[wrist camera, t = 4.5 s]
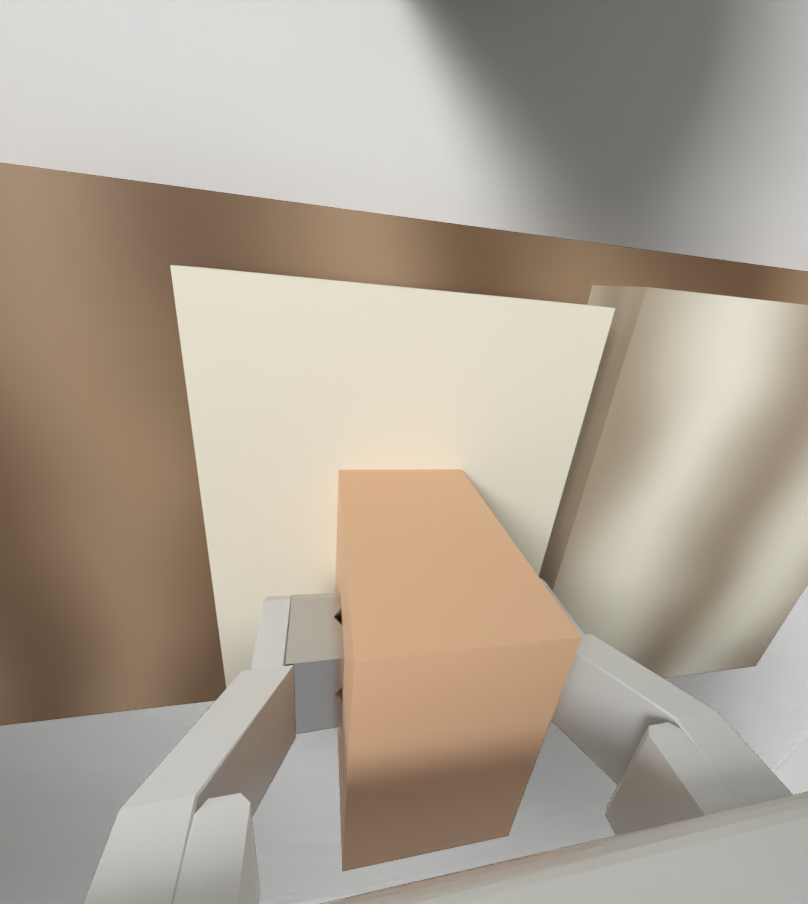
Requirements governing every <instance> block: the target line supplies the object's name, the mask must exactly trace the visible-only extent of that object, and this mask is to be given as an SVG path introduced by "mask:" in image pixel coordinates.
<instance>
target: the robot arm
mask: <svg viewBox="0 0 808 904" xmlns="http://www.w3.org/2000/svg"><path fill="white" fill-rule="evenodd" d="M540 579H541V578H540ZM541 581H542V582H543V584H544V585H545V586H546V588H547V589H548V591H549V592H550V593H551V595H552V596H553V598H554V599H555V600H556V602H557V603H558V604H559V606H560V607H561V609H562V610H563V611H564V613H565V614H566V616H567V617H568V618H569V620H570V621H571V623H572V624H573V625H574V627H575V628H576V630H577V631H578V632H579V634H580V635H581V636H582V638H581V641H580V644H579V646H578V649H577V652H576V654H575V657H574V660H573V662H572V665H571V668H570V670H569V673H568V676H567V679H566V681H565V684H564V687H563V689H562V692H561V695H560V697H559V700H558V703H557V705H556V708H555V711H554V714H553V716H552V719H551V721H552V722H553V723H554V724H555V725H556V726H557V727H558V728H559V729H560V730H561V731H563V732H564V733H565V734H566V735H567V736H568V737H569V738H570V739H571V740H572V741H573V742H574V743H575V744H576V745H577V746H578V747H579V748H580V749H581V750H582V751H583V752H584V753H585V754H586V755H587V756H588V757H589V758H590V759H591V760H592V761H593V762H594V763H596V764H597V765H598V766H599V767H600V768H601V769H602V770H603V771H604V772H605V773H606V774H607V775H608V776H609V777H610V778H611V779H612V780H613V781H614V782H615V783H616V784H617V785H618V786H617V788H616V789H615V791H614V793H613V795H612V797H611V799H610V801H609V803H608V805H607V808H606V813H605V815H606V817H607V819H608V821H609V823H610V825H611V827H612V829H613V831H614V833H615V835H616V836H612V837H608V838H603V839H599V840H595V841H590V842H586V843H582V844H577V845H573V846H569V847H564V848H560V849H556V850H551V851H547V852H543V853H538V854H534V855H529V856H525V857H521V858H516V859H512V860H508V861H503V862H499V863H495V864H490V865H486V866H482V867H477V868H473V869H469V870H464V871H460V872H456V873H451V874H447V875H443V876H438V877H434V878H429V879H425V880H421V881H416V882H412V883H408V884H403V885H399V886H395V887H390V888H386V889H382V890H377V891H373V892H369V893H364V894H360V895H356V896H351V897H347V898H343V899H338V900H334V901H330V902H325V903H321V904H808V792H803V793H799V794H795V795H793V794H792V793H791V792H790V791H789V790H788V788H787V787H786V786H785V785H784V784H783V783H782V782H781V781H780V780H779V779H778V778H777V776H776V775H775V774H774V773H773V772H772V771H771V770H770V769H769V768H768V766H767V765H766V764H765V763H764V762H763V761H762V760H761V759H760V758H759V757H758V755H757V754H756V753H755V752H754V751H753V750H752V749H751V748H750V747H749V746H748V744H747V743H746V742H745V741H744V740H743V739H742V738H741V737H740V736H739V735H738V733H737V732H736V731H735V730H734V729H733V728H732V727H731V726H730V725H729V724H728V722H727V721H726V720H725V719H724V718H723V717H722V716H721V715H720V714H719V712H717V711H715V710H714V709H712V708H711V707H709V706H707V705H706V704H704V703H702V702H701V701H699V700H697V699H696V698H694V697H693V696H691V695H689V694H688V693H686V692H684V691H683V690H681V689H680V688H678V687H676V686H675V685H673V684H671V683H670V682H668V681H667V680H665V679H663V678H662V677H660V676H658V675H657V674H655V673H654V672H652V671H650V670H649V669H647V668H645V667H644V666H642V665H641V664H639V663H637V662H636V661H634V660H632V659H631V658H629V657H627V656H626V655H624V654H623V653H621V652H619V651H618V650H616V649H614V648H613V647H611V646H610V645H608V644H606V643H605V642H603V641H601V640H600V639H598V638H597V637H595V636H593V635H592V634H587V635H585V634H584V633H583V632H582V630H581V629H580V627H579V626H578V625H577V623H576V622H575V621H574V619H573V618H572V617H571V615H570V614H569V613H568V611H567V610H566V609H565V607H564V606H563V605H562V603H561V602H560V601H559V599H558V598H557V596H556V595H555V594H554V592H553V591H552V590H551V588H550V587H549V586H548V584H547V583H546V582H545V581H544V580H542V579H541ZM343 680H344V642H343V626H342V625H341V594H340V593H325V594H303V595H292V596H269V597H266V598H265V600H264V602H263V606H262V611H261V617H260V622H259V628H258V633H257V639H256V644H255V650H254V655H253V661H252V666H251V669H250V670H242V671H241V673H240V674H239V675H238V676H237V677H236V678H235V679H234V680H233V682H232V683H231V684H230V685H229V686H228V687H227V688H226V689H225V691H224V692H223V693H222V694H221V695H220V696H219V697H218V699H217V700H216V701H215V702H214V703H213V704H212V705H211V706H210V708H209V709H208V710H207V711H206V712H205V713H204V714H203V716H202V717H201V718H200V719H199V720H198V721H197V722H196V723H195V725H194V726H193V727H192V728H191V729H190V730H189V731H188V732H187V734H186V735H185V736H184V737H183V738H182V739H181V740H180V742H179V743H178V744H177V745H176V746H175V747H174V748H173V749H172V751H171V752H170V753H169V754H168V755H167V756H166V757H165V758H164V760H163V761H162V762H161V763H160V764H159V765H158V766H157V768H156V769H155V770H154V771H153V772H152V773H151V774H150V775H149V777H148V778H147V779H146V780H145V781H144V782H143V783H142V785H141V786H140V787H139V788H138V789H137V790H136V791H135V792H134V794H133V795H132V796H131V797H130V798H129V799H128V800H127V801H126V803H125V804H124V805H123V806H122V807H121V808H120V810H119V812H118V815H117V817H116V820H115V823H114V825H113V828H112V830H111V833H110V836H109V838H108V841H107V843H106V846H105V849H104V851H103V854H102V856H101V859H100V862H99V864H98V867H97V869H96V872H95V875H94V877H93V880H92V882H91V885H90V888H89V890H88V893H87V895H86V898H85V901H84V903H83V904H259V896H260V885H259V876H258V867H257V858H256V849H255V840H254V831H253V822H252V816H253V815H254V813H255V811H256V809H257V807H258V806H259V804H260V802H261V800H262V798H263V796H264V795H265V793H266V791H267V789H268V787H269V785H270V784H271V782H272V780H273V778H274V776H275V775H276V773H277V771H278V769H279V767H280V765H281V764H282V762H283V760H284V758H285V756H286V754H287V753H288V751H289V749H290V747H291V745H292V744H293V742H294V740H295V738H296V734H300V733H306V732H312V731H318V730H324V729H330V728H336V727H342V704H343V701H342V687H343Z"/></svg>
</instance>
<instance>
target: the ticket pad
mask: <svg viewBox="0 0 808 904" xmlns="http://www.w3.org/2000/svg"><path fill="white" fill-rule="evenodd" d="M170 265H176V266H190V267H203V268H213V269H224V270H234V271H244V272H255V273H265V274H275V275H286V276H296V277H306V278H317V279H327V280H337V281H348V282H358V283H368V284H379V285H389V286H399V287H409V288H420V289H430V290H440V291H451V292H461V293H471V294H482V295H492V296H502V297H513V298H523V299H533V300H544V301H554V302H564V303H574V304H583V305H592V306H601V307H610V308H615V311H614V315H613V318H612V322H611V325H610V329H609V332H608V336H607V339H606V343H605V346H604V350H603V353H602V357H601V360H600V364H599V367H598V371H597V374H596V378H595V381H594V385H593V388H592V392H591V395H590V399H589V402H588V406H587V409H586V412H585V416H584V419H583V423H582V426H581V430H580V433H579V437H578V440H577V444H576V447H575V451H574V454H573V458H572V461H571V465H570V468H569V472H568V475H567V479H566V482H565V486H564V489H563V493H562V496H561V500H560V503H559V507H558V510H557V514H556V517H555V521H554V524H553V528H552V531H551V535H550V538H549V542H548V545H547V549H546V552H545V556H544V559H543V563H542V566H541V569H540V573H539V576H538V577H539V578H541V579H542V580H544V581H545V582H546V583H547V584H548V586H549V587H550V588H551V590H552V591H553V592H554V594H555V595H556V596H557V598H558V599H559V601H560V602H561V603H562V605H563V606H564V607H565V609H566V610H567V611H568V613H569V614H570V615H571V617H572V618H573V619H574V621H575V622H576V623H577V625H578V626H579V627H580V629H581V630H582V632H583V633H584V634H585V635H587V634H592V635H593V636H595V637H597V638H598V639H600V640H601V641H603V642H605V643H606V644H608V645H610V646H611V647H613V648H614V649H616V650H618V651H619V652H621V653H623V654H624V655H626V656H627V657H629V658H631V659H632V660H634V661H636V662H637V663H639V664H641V665H642V666H644V667H645V668H647V669H649V670H650V671H652V672H654V673H655V674H657V675H658V676H660V677H662V678H670V677H678V676H685V675H693V674H700V673H707V672H715V671H722V670H729V669H737V668H744V667H751V666H756V664H757V663H758V661H759V660H760V658H761V657H762V655H763V653H764V652H765V650H766V649H767V647H768V646H769V644H770V642H771V641H772V639H773V638H774V636H775V635H776V633H777V631H778V630H779V628H780V627H781V625H782V624H783V622H784V621H785V619H786V617H787V616H788V614H789V613H790V611H791V610H792V608H793V606H794V605H795V603H796V602H797V600H798V599H799V597H800V595H801V594H802V592H803V591H804V589H805V588H806V586H807V584H808V272H807V271H800V270H792V269H785V268H778V267H770V266H763V265H755V264H748V263H741V262H733V261H726V260H718V259H711V258H704V257H696V256H689V255H681V254H674V253H667V252H659V251H652V250H644V249H637V248H630V247H622V246H615V245H607V244H600V243H592V242H585V241H578V240H570V239H563V238H555V237H548V236H541V235H533V234H526V233H518V232H511V231H504V230H496V229H489V228H481V227H474V226H467V225H459V224H452V223H444V222H437V221H430V220H422V219H415V218H407V217H400V216H393V215H385V214H378V213H370V212H363V211H356V210H348V209H341V208H333V207H326V206H318V205H311V204H304V203H296V202H289V201H281V200H274V199H267V198H259V197H252V196H244V195H237V194H230V193H222V192H215V191H207V190H200V189H193V188H185V187H178V186H170V185H163V184H156V183H148V182H141V181H133V180H126V179H119V178H111V177H104V176H96V175H89V174H82V173H74V172H67V171H59V170H52V169H44V168H37V167H30V166H22V165H15V164H7V163H0V726H1V725H9V724H18V723H26V722H35V721H44V720H52V719H61V718H69V717H78V716H86V715H95V714H104V713H112V712H121V711H129V710H138V709H146V708H155V707H164V706H172V705H181V704H189V703H198V702H206V701H215V700H217V699H218V697H219V696H220V695H221V694H222V693H223V692H224V691H225V689H226V682H225V674H224V667H223V659H222V652H221V644H220V637H219V629H218V622H217V614H216V607H215V599H214V592H213V584H212V577H211V569H210V562H209V554H208V547H207V539H206V531H205V524H204V516H203V509H202V501H201V494H200V486H199V479H198V471H197V464H196V456H195V449H194V441H193V434H192V426H191V419H190V411H189V403H188V396H187V388H186V381H185V373H184V366H183V358H182V351H181V343H180V336H179V328H178V321H177V313H176V306H175V298H174V291H173V283H172V276H171V268H170Z"/></svg>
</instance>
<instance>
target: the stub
mask: <svg viewBox="0 0 808 904" xmlns="http://www.w3.org/2000/svg"><path fill="white" fill-rule="evenodd" d="M170 268H171V276H172V283H173V291H174V298H175V306H176V313H177V321H178V328H179V336H180V343H181V351H182V358H183V366H184V373H185V381H186V388H187V396H188V403H189V411H190V419H191V426H192V434H193V441H194V449H195V456H196V464H197V471H198V479H199V486H200V494H201V501H202V509H203V516H204V524H205V531H206V539H207V547H208V554H209V562H210V569H211V577H212V584H213V592H214V599H215V607H216V614H217V622H218V629H219V637H220V644H221V652H222V659H223V667H224V674H225V682H226V688H227V687H228V686H229V685H230V684H231V683H232V682H233V680H234V679H235V678H236V677H237V676H238V675H239V674H240V673H241V671H242V670H250V669H251V666H252V661H253V655H254V650H255V644H256V639H257V633H258V628H259V622H260V617H261V611H262V606H263V602H264V600H265V598H266V597H269V596H292V595H303V594H325V593H340V594H341V625H342V626H343V642H344V680H343V687H342V701H343V704H342V727H338V755H339V784H340V814H341V844H342V871H346V870H351V869H356V868H360V867H365V866H370V865H374V864H379V863H384V862H388V861H393V860H398V859H402V858H407V857H412V856H416V855H421V854H426V853H430V852H435V851H440V850H444V849H449V848H454V847H458V846H463V845H468V844H472V843H477V842H482V841H486V840H491V839H495V838H500V837H505V836H508V835H509V832H510V829H511V827H512V824H513V821H514V819H515V816H516V813H517V811H518V808H519V805H520V802H521V800H522V797H523V794H524V792H525V789H526V786H527V784H528V781H529V778H530V776H531V773H532V770H533V767H534V765H535V762H536V759H537V757H538V754H539V751H540V749H541V746H542V743H543V741H544V738H545V735H546V732H547V730H548V727H549V724H550V722H551V719H552V716H553V714H554V711H555V708H556V705H557V703H558V700H559V697H560V695H561V692H562V689H563V687H564V684H565V681H566V679H567V676H568V673H569V670H570V668H571V665H572V662H573V660H574V657H575V654H576V652H577V649H578V646H579V644H580V641H581V638H582V636H581V635H580V634H579V632H578V631H577V630H576V628H575V627H574V625H573V624H572V623H571V621H570V620H569V618H568V617H567V616H566V614H565V613H564V611H563V610H562V609H561V607H560V606H559V604H558V603H557V602H556V600H555V599H554V598H553V596H552V595H551V593H550V592H549V591H548V589H547V588H546V586H545V585H544V584H543V582H542V581H541V579H540V578H539V577H538V576H539V573H540V569H541V566H542V563H543V559H544V556H545V552H546V549H547V545H548V542H549V538H550V535H551V531H552V528H553V524H554V521H555V517H556V514H557V510H558V507H559V503H560V500H561V496H562V493H563V489H564V486H565V482H566V479H567V475H568V472H569V468H570V465H571V461H572V458H573V454H574V451H575V447H576V444H577V440H578V437H579V433H580V430H581V426H582V423H583V419H584V416H585V412H586V409H587V406H588V402H589V399H590V395H591V392H592V388H593V385H594V381H595V378H596V374H597V371H598V367H599V364H600V360H601V357H602V353H603V350H604V346H605V343H606V339H607V336H608V332H609V329H610V325H611V322H612V318H613V315H614V311H615V308H610V307H601V306H592V305H583V304H574V303H564V302H554V301H544V300H533V299H523V298H513V297H502V296H492V295H482V294H471V293H461V292H451V291H440V290H430V289H420V288H409V287H399V286H389V285H379V284H368V283H358V282H348V281H337V280H327V279H317V278H306V277H296V276H286V275H275V274H265V273H255V272H244V271H234V270H224V269H213V268H203V267H190V266H176V265H170Z"/></svg>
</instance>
